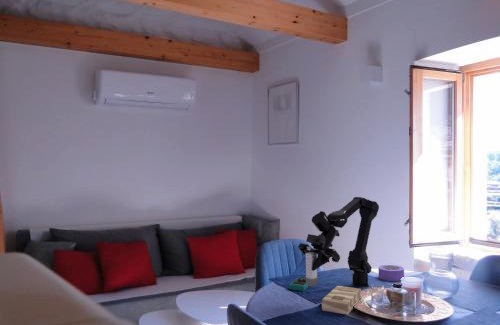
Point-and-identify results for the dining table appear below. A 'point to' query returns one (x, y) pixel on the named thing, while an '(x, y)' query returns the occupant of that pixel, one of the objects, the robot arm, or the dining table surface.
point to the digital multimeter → (299, 284)
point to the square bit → (310, 274)
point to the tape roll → (391, 272)
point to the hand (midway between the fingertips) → (309, 269)
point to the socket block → (341, 299)
